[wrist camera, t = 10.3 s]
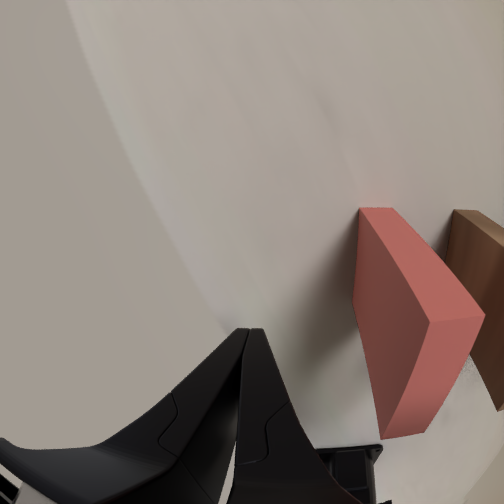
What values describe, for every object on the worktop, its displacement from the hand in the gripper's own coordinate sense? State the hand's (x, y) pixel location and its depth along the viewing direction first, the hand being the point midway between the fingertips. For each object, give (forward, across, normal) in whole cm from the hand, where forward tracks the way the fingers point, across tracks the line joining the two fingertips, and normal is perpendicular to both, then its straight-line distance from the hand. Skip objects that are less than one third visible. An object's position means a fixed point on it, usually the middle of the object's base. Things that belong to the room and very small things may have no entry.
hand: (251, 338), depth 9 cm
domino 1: (+6, -5, 0) cm, 8 cm away
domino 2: (+6, -10, 0) cm, 12 cm away
